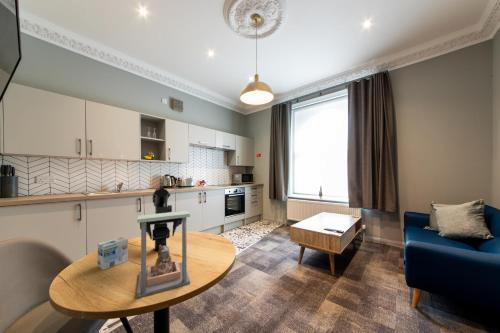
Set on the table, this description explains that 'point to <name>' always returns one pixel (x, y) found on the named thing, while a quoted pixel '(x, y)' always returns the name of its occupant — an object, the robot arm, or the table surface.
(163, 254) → the figurine
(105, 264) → the light bulb box
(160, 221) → the robot arm
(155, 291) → the awning stand
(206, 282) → the table surface
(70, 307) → the table surface
